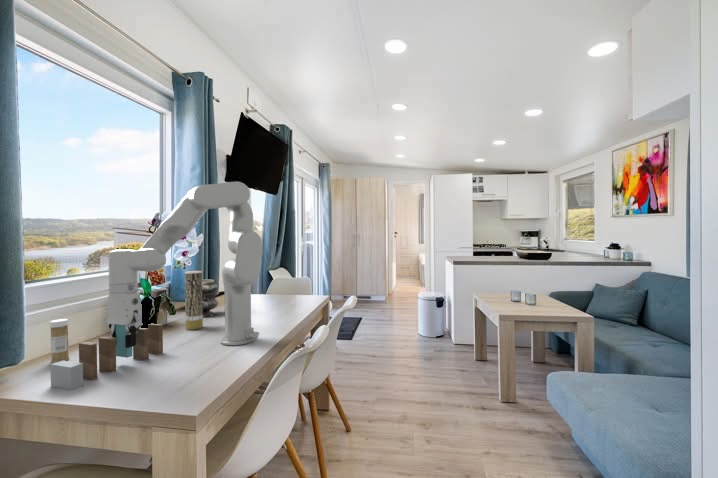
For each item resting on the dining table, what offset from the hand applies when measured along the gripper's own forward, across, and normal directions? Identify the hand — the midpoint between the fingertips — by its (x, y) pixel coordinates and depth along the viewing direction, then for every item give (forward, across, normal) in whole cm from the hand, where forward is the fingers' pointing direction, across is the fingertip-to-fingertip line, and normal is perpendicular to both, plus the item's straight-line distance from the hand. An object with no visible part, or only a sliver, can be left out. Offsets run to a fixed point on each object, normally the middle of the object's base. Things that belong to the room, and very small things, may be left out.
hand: (124, 345), depth 110 cm
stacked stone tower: (+6, +26, -63) cm, 69 cm away
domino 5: (+6, 0, -11) cm, 13 cm away
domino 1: (+6, 0, +11) cm, 12 cm away
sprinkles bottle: (+6, +24, +4) cm, 25 cm away
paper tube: (+6, +12, -41) cm, 43 cm away
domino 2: (+6, 0, +5) cm, 8 cm away
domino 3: (+3, 0, 0) cm, 3 cm away
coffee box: (+6, +33, -39) cm, 52 cm away
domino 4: (+6, 0, -6) cm, 8 cm away
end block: (+6, 0, +16) cm, 17 cm away
